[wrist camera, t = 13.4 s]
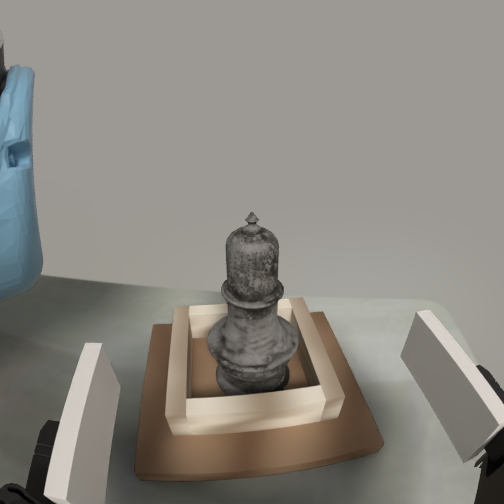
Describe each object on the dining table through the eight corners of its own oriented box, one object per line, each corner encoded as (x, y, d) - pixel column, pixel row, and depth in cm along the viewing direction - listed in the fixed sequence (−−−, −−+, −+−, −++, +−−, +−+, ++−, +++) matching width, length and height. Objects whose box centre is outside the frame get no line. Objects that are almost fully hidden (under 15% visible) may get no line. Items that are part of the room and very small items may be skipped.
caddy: (140, 479, 15) (121, 455, 13) (155, 334, 27) (148, 302, 25) (378, 451, 16) (396, 423, 15) (321, 321, 29) (326, 289, 27)
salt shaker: (256, 420, 18) (257, 249, 13) (194, 374, 22) (171, 214, 16) (310, 369, 22) (331, 211, 17) (250, 335, 26) (248, 189, 20)
